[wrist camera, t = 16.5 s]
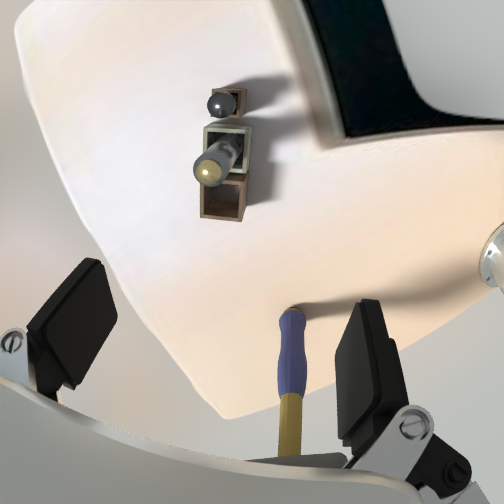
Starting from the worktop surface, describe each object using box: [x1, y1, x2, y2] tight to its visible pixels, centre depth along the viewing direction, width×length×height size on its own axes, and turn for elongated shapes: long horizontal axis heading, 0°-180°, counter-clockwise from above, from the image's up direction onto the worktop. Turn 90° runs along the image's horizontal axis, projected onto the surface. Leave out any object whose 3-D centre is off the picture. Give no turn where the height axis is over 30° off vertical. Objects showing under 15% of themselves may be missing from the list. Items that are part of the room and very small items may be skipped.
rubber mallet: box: [244, 308, 348, 469], centre depth 31 cm, size 12×8×30 cm, turn 115°
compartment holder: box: [200, 88, 252, 222], centre depth 30 cm, size 5×14×4 cm, turn 176°
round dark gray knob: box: [207, 92, 238, 118], centre depth 25 cm, size 2×2×6 cm
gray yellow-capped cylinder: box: [193, 133, 243, 187], centre depth 27 cm, size 3×3×11 cm
